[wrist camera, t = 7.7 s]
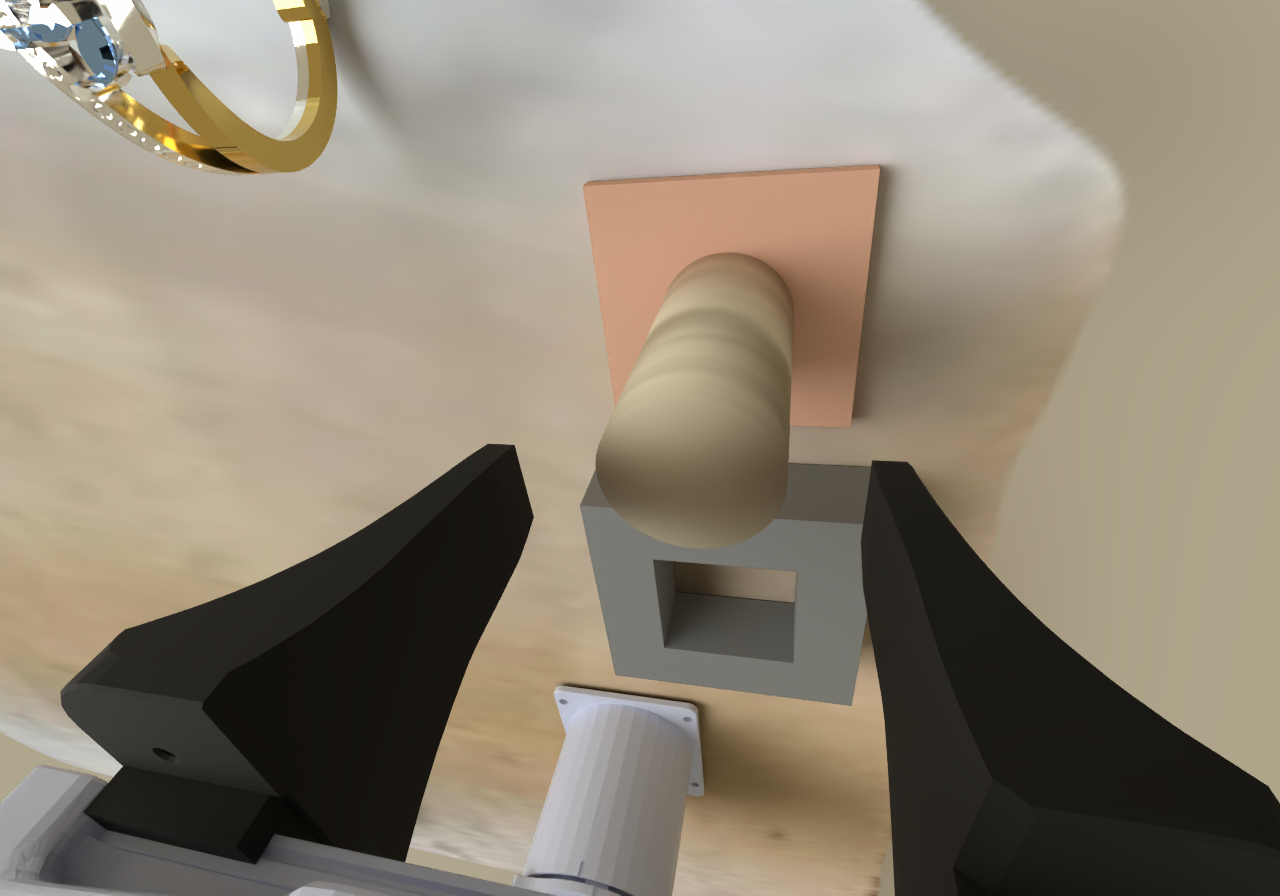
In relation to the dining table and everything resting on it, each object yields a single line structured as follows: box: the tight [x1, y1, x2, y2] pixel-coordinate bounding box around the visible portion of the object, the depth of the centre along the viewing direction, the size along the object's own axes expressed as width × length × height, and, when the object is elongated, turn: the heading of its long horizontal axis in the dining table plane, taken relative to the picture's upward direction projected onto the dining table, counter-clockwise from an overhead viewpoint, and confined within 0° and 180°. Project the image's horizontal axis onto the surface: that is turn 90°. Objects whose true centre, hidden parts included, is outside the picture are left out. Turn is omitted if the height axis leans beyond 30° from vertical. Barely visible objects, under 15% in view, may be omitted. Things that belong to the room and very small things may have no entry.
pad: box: [583, 165, 880, 427], centre depth 19 cm, size 8×8×1 cm
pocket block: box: [580, 463, 871, 706], centre depth 25 cm, size 10×10×3 cm
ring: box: [0, 0, 337, 175], centre depth 14 cm, size 7×3×8 cm, turn 4°
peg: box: [596, 252, 794, 549], centre depth 16 cm, size 4×4×8 cm
